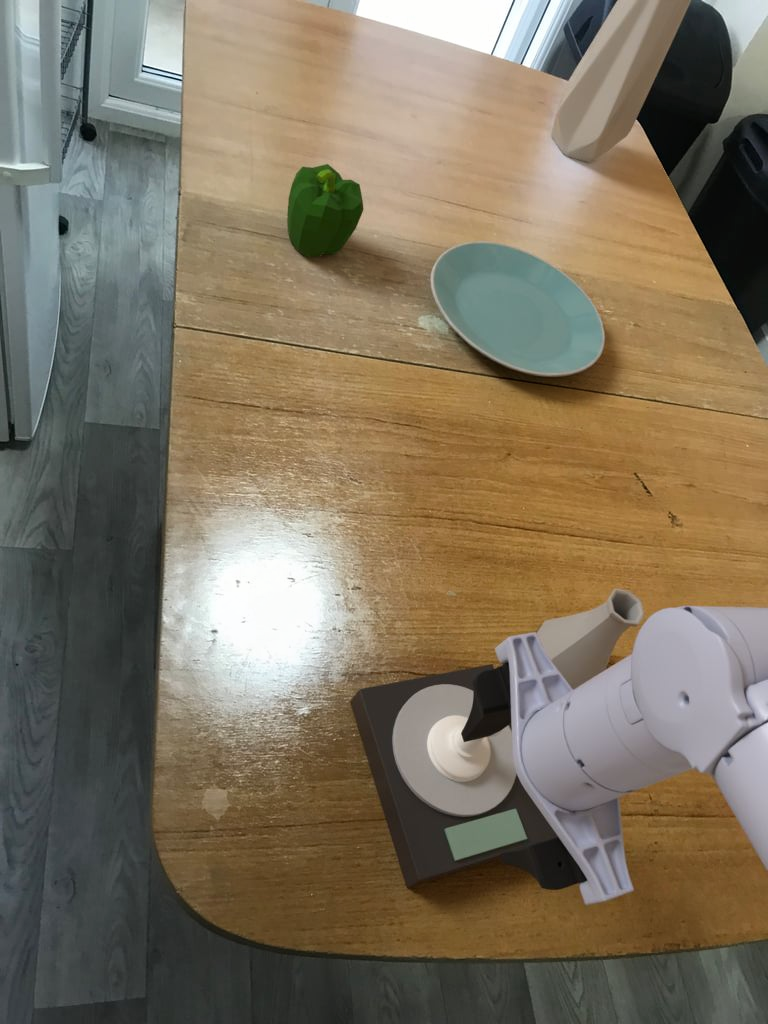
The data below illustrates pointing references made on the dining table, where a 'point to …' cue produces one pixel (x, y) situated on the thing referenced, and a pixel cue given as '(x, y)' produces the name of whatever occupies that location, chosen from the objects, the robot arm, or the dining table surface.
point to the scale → (441, 780)
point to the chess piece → (457, 750)
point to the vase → (615, 76)
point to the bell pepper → (322, 210)
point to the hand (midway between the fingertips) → (494, 793)
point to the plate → (517, 309)
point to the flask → (589, 636)
